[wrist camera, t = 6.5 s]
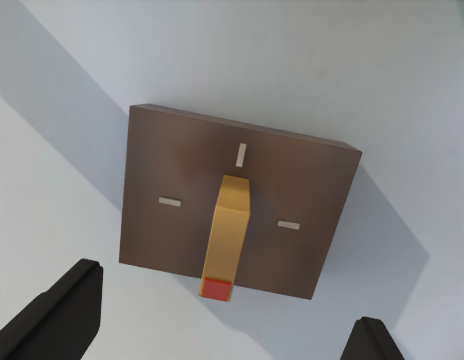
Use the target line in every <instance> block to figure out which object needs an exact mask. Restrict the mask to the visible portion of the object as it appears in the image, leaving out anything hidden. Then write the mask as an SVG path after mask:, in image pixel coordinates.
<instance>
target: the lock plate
mask: <svg viewBox="0 0 464 360" xmlns="http://www.w3.org/2000/svg"><path fill="white" fill-rule="evenodd" d="M361 155H362V152H361V151H359V150H357V149H355V148H354V147H352V146H350V145H348V144H346V143H342V142H337V141H332V140H327V139H322V138H317V137H312V136H307V135H302V134H297V133H292V132H287V131H282V130H277V129H272V128H267V127H262V126H257V125H252V124H247V123H242V122H237V121H232V120H227V119H222V118H217V117H212V116H207V115H202V114H197V113H192V112H187V111H182V110H177V109H172V108H167V107H162V106H157V105H152V104H141V105H132V106H130V109H129V124H128V138H127V152H126V166H125V181H124V195H123V209H122V223H121V238H120V252H119V263H123V264H128V265H133V266H138V267H143V268H148V269H154V270H159V271H164V272H169V273H174V274H179V275H185V276H190V277H195V278H200V279H202V274H203V269H204V264H205V259H206V253H207V248H208V243H209V238H210V233H211V227H212V222H213V217H214V212H215V207H216V203H217V199H218V196H219V192H220V188H221V185H222V181H223V177H224V175H229V176H234V177H238V178H243V179H248V180H249V185H250V218H249V222H248V226H247V230H246V234H245V239H244V243H243V247H242V251H241V256H240V260H239V264H238V268H237V272H236V277H235V281H234V285H236V286H241V287H246V288H252V289H257V290H262V291H267V292H272V293H277V294H283V295H288V296H293V297H298V298H303V299H308V300H311V299H312V296H313V293H314V290H315V287H316V284H317V282H318V279H319V276H320V273H321V270H322V267H323V264H324V261H325V259H326V256H327V253H328V250H329V247H330V244H331V241H332V238H333V235H334V233H335V230H336V227H337V224H338V221H339V218H340V215H341V212H342V210H343V207H344V204H345V201H346V198H347V195H348V192H349V189H350V186H351V184H352V181H353V178H354V175H355V172H356V169H357V166H358V163H359V161H360V158H361Z"/></svg>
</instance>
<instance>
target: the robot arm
mask: <svg viewBox="0 0 464 360" xmlns="http://www.w3.org/2000/svg"><path fill="white" fill-rule="evenodd" d="M102 285H103V267H101V266H100V264H99V262H98V261H93V260H88V259H81V260H79V261H78V262H77V263H76V264H75V265H74V266H73V267H72V268H71V269H70V270H69V271H68V272H67V273H65V274H64V275H63V276H62V277H61V278H60V279H59V280H58V281H57V282H56V283H55V284H54V285H53V286H52V287H51V288H50V289H49V290H48V291H47V292H43V293H41V294H40V295H38V296H37V297H36V298H35V299H34V300H33V301H31V302H30V303H29V304H28V305H27V306H26V307H25V308H24V309H23V310H22V311H21V312H20V313H19V314H18V315H16V316H15V317H14V318H13V319H12V320H11V321H10V322H9V323H8V324H7V325H6V326H5V327H4V328H2V329H1V330H0V360H80V359H81V358H82V356H83V355H84V353H85V352H86V350H87V349H88V347H89V346H90V344H91V343H92V341H93V339H94V338H95V336H96V335H97V333H98V330H99V327H100V319H101V302H102ZM340 360H405V359H404V357H403V356H402V354H401V352H400V351H399V349H398V347H397V346H396V344H395V342H394V340H393V339H392V337H391V335H390V334H389V332H388V330H387V329H386V327H385V325H384V323H383V322H382V321H381V320H379V319H374V318H369V317H362V318H361V319H360V320H357V321H356V322H355V325H354V327H353V329H352V332H351V334H350V337H349V339H348V342H347V344H346V346H345V349H344V351H343V354H342V356H341V359H340Z"/></svg>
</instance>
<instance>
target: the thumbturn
mask: <svg viewBox="0 0 464 360" xmlns="http://www.w3.org/2000/svg"><path fill="white" fill-rule="evenodd" d="M249 218H250V185H249V180H248V179H243V178H238V177H234V176H229V175H224V177H223V181H222V185H221V188H220V192H219V196H218V199H217V203H216V207H215V212H214V217H213V222H212V227H211V233H210V238H209V243H208V248H207V253H206V259H205V264H204V269H203V274H202V280H201V285H200V290H199V296H201V297H206V298H211V299H216V300H221V301H226V302H227V301H230V298H231V293H232V289H233V285H234V281H235V277H236V272H237V268H238V264H239V260H240V256H241V251H242V247H243V243H244V239H245V234H246V230H247V226H248V222H249Z"/></svg>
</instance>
